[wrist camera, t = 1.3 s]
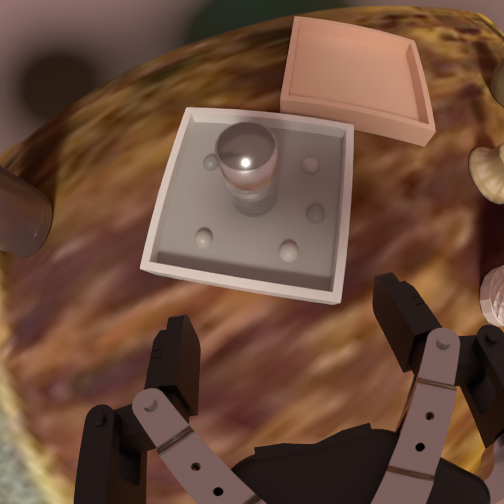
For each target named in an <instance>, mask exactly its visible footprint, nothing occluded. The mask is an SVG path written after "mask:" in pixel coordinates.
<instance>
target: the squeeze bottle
mask: <svg viewBox="0 0 504 504" xmlns="http://www.w3.org/2000/svg"><path fill="white" fill-rule="evenodd" d="M490 90H491V93H492V94H493V96H494V98H495V99H496V100H497V101H498V102H499V103H500V104H501V105H502V106H503V107H504V58H503V59H502V61H501V62H500V63H499V64H498V65H497V66H496V67H495V68H494V71H493V76H492V80H491V85H490Z"/></svg>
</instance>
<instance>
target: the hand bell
mask: <svg viewBox="0 0 504 504" xmlns="http://www.w3.org/2000/svg"><path fill="white" fill-rule="evenodd" d="M469 169H470V173H471V176H472V179H473V181H474V183H475V185H476V186H477V188H478V189H479V191H480V192H481V193H482V194H483V196H484V197H485V198H487V199H488V200H489V201H491V202H493V203H495V204H504V143H503V144H501V145H499V146H498V147H496V148H494V149H489V148H485V147H478V148H475V149H474V150H473V151H472V152H471V154H470V156H469Z"/></svg>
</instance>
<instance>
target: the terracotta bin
mask: <svg viewBox="0 0 504 504" xmlns="http://www.w3.org/2000/svg"><path fill="white" fill-rule="evenodd" d="M280 113H281V114H289V115H297V116H304V117H311V118H318V119H324V120H330V121H336V122H341V123H347V124H352V125H354V130H357V131H362V132H367V133H372V134H376V135H381V136H385V137H389V138H393V139H397V140H401V141H405V142H409V143H413V144H416V145H420V146H423V147H425V145H426V144H427V143H428V141H429V140H430V139H431V138H432V136H433V135H434V134H435V132H436V130H435V124H434V118H433V113H432V108H431V103H430V98H429V93H428V89H427V85H426V80H425V76H424V72H423V69H422V65H421V61H420V58H419V54H418V51H417V47H416V44H415V41H413V40H410V39H407V38H404V37H400V36H397V35H393V34H390V33H386V32H382V31H378V30H374V29H370V28H366V27H361V26H356V25H351V24H346V23H341V22H335V21H329V20H322V19H315V18H307V17H298V16H295V17H294V23H293V28H292V34H291V40H290V46H289V51H288V57H287V63H286V68H285V74H284V80H283V86H282V91H281V97H280Z"/></svg>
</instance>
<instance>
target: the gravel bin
mask: <svg viewBox="0 0 504 504" xmlns="http://www.w3.org/2000/svg"><path fill="white" fill-rule="evenodd" d="M246 121H250V122H257V123H260V124H262V125H264V126H266V127H268V128H269V129H270V130H271V131H272V132H273V133H274V135H275V137H276V139H277V146H278V197H277V202H276V204H275V206H274V207H273V209H272V210H271V211H270V212H268V213H267V214H265V215H263V216H259V217H250V216H246V215H244V214H242V213H240V212H239V211H238V210H237V209H236V208H235V206H234V204H233V202H232V199H231V196H230V194H229V191H228V188H227V185H226V183H225V180H224V177H223V175H222V172H221V169H220V167H219V164H218V161H217V158H216V155H215V143H216V140H217V138H218V136H219V135H220V134H221V133H222V131H224V130H225V129H226V128H227V127H229V126H231V125H233V124H236V123H239V122H246ZM353 149H354V125H352V124H347V123H341V122H336V121H330V120H324V119H318V118H311V117H304V116H297V115H289V114H281V113H272V112H262V111H251V110H237V109H220V108H186V110H185V113H184V116H183V119H182V122H181V124H180V127H179V130H178V133H177V136H176V139H175V142H174V145H173V148H172V151H171V154H170V157H169V160H168V164H167V167H166V170H165V173H164V177H163V180H162V183H161V187H160V190H159V194H158V197H157V201H156V205H155V208H154V212H153V216H152V220H151V224H150V228H149V232H148V236H147V240H146V244H145V248H144V252H143V257H142V261H141V266H140V269H142V270H144V271H147V272H150V273H152V274H155V275H160V276H165V277H170V278H176V279H181V280H186V281H191V282H197V283H202V284H208V285H213V286H219V287H224V288H230V289H236V290H242V291H247V292H253V293H259V294H266V295H272V296H278V297H284V298H291V299H297V300H304V301H311V302H317V303H324V304H331V305H334V304H338V303H341V296H342V288H343V281H344V272H345V264H346V255H347V245H348V234H349V223H350V210H351V195H352V176H353Z"/></svg>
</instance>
